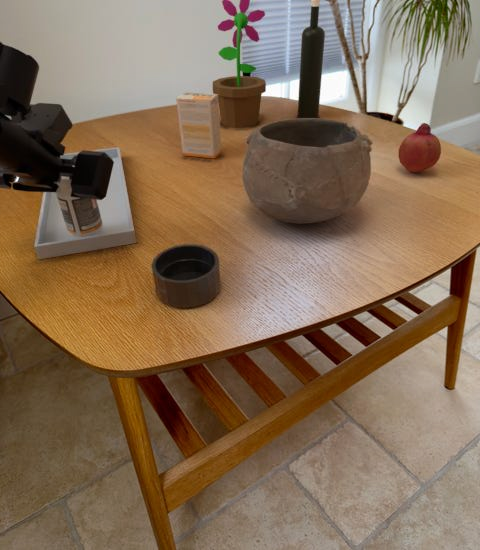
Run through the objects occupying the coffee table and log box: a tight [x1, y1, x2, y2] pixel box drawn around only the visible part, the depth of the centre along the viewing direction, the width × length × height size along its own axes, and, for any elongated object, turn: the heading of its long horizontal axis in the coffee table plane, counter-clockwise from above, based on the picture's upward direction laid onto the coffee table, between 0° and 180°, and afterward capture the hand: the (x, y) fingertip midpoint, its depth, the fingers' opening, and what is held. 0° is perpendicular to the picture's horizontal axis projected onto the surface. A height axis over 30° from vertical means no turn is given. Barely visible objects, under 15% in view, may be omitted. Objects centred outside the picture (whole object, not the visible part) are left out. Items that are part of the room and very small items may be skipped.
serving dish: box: [33, 146, 137, 260], centre depth 84 cm, size 15×39×2 cm, turn 16°
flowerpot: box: [212, 0, 267, 129], centre depth 111 cm, size 14×14×30 cm
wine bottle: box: [297, 0, 326, 119], centre depth 113 cm, size 6×6×30 cm
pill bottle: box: [56, 176, 103, 237], centre depth 69 cm, size 6×6×10 cm
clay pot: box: [241, 117, 373, 225], centre depth 73 cm, size 21×21×15 cm
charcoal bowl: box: [150, 243, 222, 309], centre depth 60 cm, size 9×9×4 cm
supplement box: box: [175, 92, 222, 159], centre depth 97 cm, size 8×5×13 cm, turn 71°
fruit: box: [397, 122, 442, 173], centre depth 87 cm, size 8×8×10 cm
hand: (81, 191), depth 69 cm, fingers closed on pill bottle, 6 cm apart
